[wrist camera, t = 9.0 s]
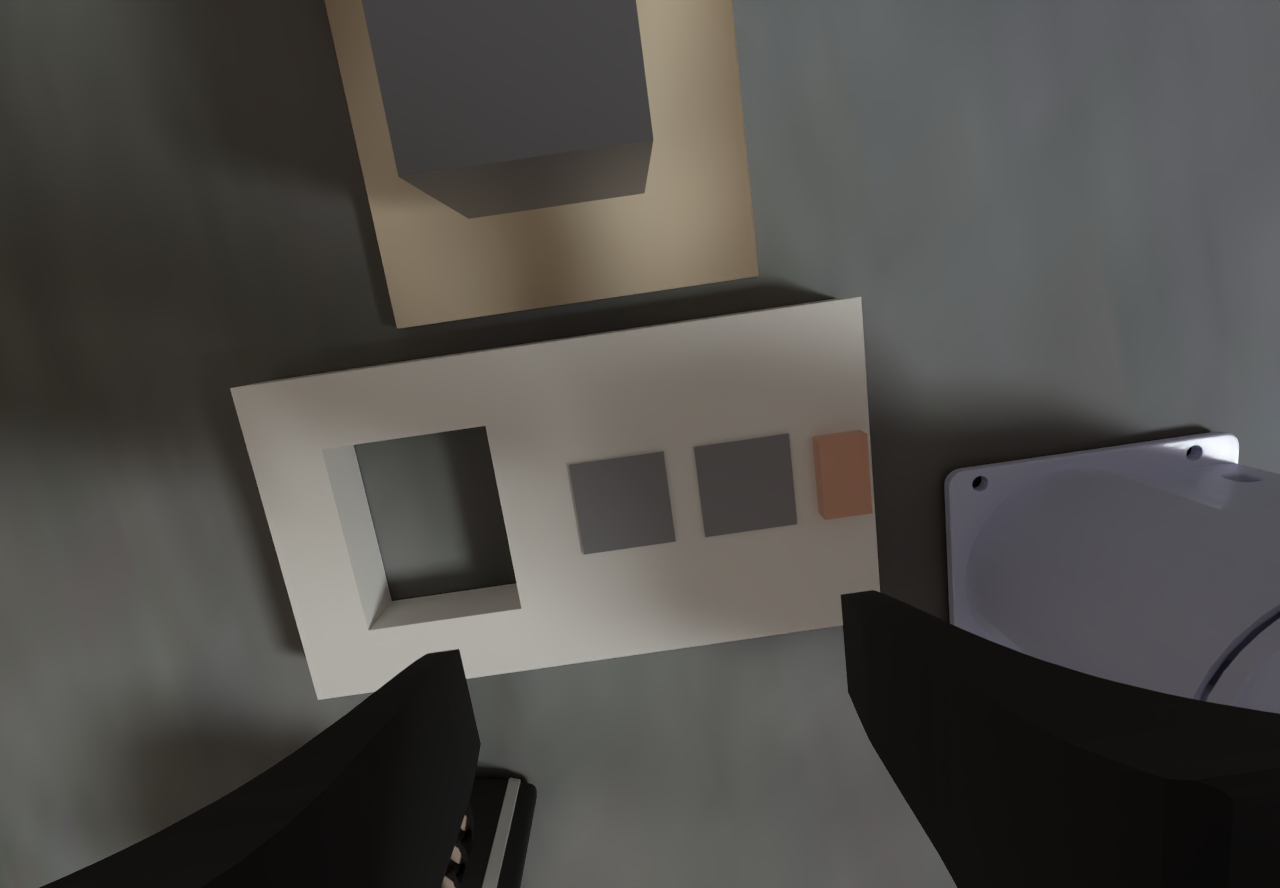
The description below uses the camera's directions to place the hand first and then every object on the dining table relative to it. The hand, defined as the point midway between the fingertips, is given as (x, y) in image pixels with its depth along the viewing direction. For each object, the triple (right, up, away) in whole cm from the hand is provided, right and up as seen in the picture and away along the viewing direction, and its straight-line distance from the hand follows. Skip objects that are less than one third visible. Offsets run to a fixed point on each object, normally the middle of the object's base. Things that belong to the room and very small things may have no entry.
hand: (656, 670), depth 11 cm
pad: (-3, +14, +7) cm, 16 cm away
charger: (-3, +14, +6) cm, 15 cm away
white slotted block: (-2, +3, +9) cm, 10 cm away
